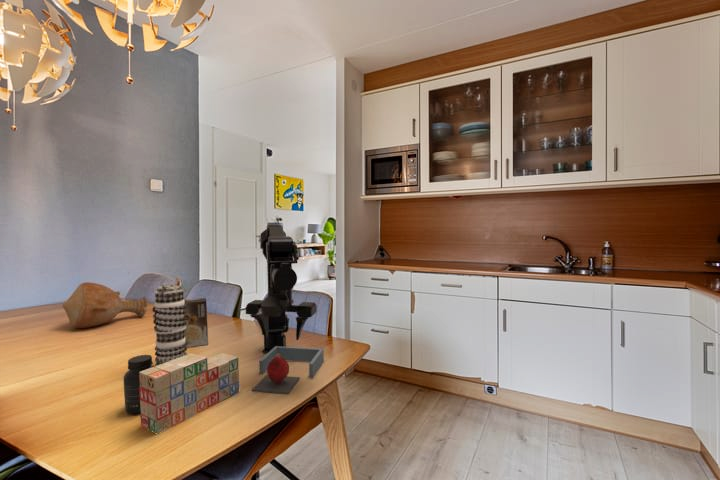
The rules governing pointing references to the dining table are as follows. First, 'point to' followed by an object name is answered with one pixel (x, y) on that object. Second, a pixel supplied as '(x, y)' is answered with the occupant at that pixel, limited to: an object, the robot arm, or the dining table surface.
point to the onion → (278, 369)
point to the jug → (98, 305)
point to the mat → (276, 385)
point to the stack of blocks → (185, 388)
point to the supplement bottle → (135, 382)
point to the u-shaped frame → (295, 357)
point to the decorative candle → (169, 323)
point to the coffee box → (196, 322)
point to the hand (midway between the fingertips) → (281, 338)
